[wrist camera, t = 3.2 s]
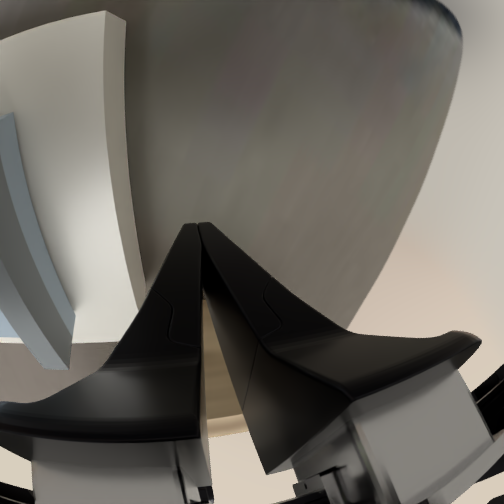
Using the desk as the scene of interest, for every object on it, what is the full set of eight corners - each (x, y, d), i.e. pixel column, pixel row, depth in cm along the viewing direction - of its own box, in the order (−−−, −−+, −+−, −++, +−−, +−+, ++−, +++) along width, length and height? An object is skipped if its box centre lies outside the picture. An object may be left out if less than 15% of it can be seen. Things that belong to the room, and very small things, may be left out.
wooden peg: (224, 332, 22) (250, 430, 16) (171, 338, 21) (186, 440, 15) (226, 297, 19) (257, 411, 13) (165, 303, 18) (179, 422, 12)
